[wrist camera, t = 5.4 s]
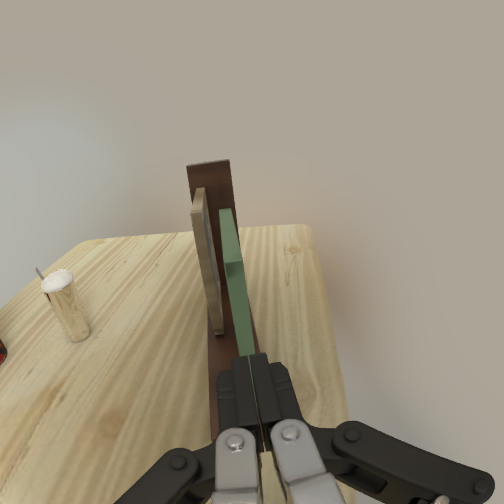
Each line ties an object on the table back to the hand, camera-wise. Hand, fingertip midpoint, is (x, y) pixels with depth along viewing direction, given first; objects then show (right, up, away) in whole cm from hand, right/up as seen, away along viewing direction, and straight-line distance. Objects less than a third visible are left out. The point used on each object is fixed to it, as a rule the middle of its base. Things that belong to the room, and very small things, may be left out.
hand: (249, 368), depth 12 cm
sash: (0, -5, +13) cm, 14 cm away
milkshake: (-23, -6, +21) cm, 32 cm away
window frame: (-2, -5, +18) cm, 19 cm away
